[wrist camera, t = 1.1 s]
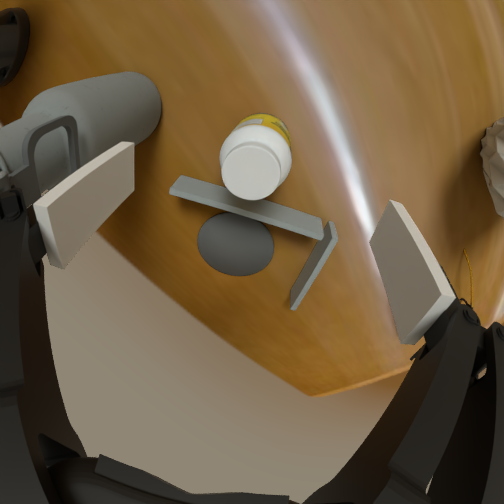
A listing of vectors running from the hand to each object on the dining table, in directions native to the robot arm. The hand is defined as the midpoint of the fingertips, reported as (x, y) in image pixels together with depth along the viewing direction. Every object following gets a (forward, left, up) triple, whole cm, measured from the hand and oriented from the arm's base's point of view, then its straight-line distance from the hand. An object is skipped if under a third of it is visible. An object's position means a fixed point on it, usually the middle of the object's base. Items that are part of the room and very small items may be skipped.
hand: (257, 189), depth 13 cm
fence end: (+12, -17, -20) cm, 29 cm away
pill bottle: (0, -3, -20) cm, 20 cm away
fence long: (+1, -11, -20) cm, 22 cm away
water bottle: (-17, -3, -20) cm, 27 cm away
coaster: (+1, -19, -20) cm, 27 cm away
